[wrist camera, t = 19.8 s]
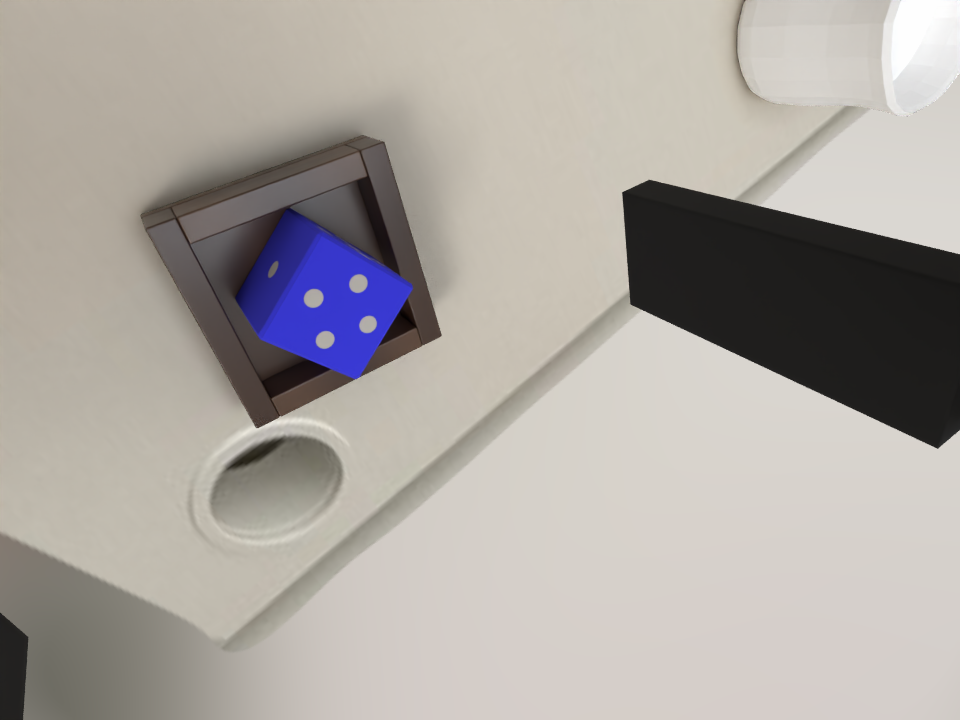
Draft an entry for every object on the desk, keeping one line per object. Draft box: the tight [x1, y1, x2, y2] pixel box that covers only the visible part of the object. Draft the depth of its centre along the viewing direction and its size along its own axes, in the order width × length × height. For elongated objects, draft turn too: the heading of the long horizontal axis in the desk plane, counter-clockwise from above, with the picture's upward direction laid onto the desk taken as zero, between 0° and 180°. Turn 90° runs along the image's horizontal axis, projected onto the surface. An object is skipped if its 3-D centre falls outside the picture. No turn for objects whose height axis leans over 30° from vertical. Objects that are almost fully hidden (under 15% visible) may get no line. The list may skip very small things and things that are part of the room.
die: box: [235, 208, 413, 379], centre depth 27 cm, size 5×5×5 cm
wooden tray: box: [141, 135, 441, 428], centre depth 29 cm, size 10×10×3 cm
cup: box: [737, 0, 960, 116], centre depth 36 cm, size 10×10×10 cm
